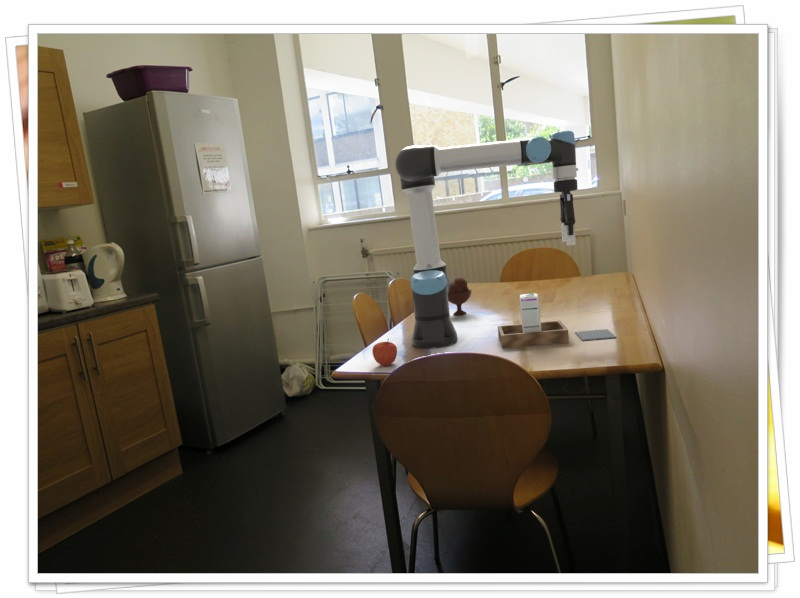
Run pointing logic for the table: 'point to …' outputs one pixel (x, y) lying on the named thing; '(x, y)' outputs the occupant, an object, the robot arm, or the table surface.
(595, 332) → the mat
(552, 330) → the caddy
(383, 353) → the apple
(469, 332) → the table surface
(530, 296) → the syrup box
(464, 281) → the ice cream bowl
